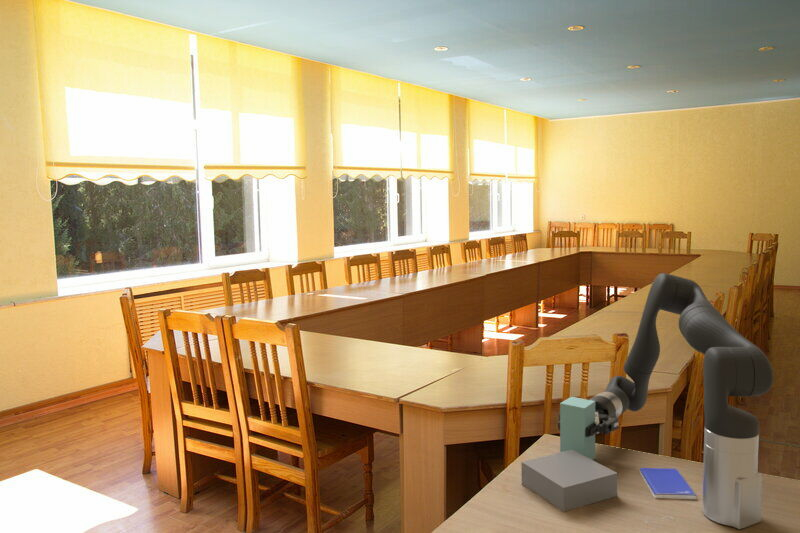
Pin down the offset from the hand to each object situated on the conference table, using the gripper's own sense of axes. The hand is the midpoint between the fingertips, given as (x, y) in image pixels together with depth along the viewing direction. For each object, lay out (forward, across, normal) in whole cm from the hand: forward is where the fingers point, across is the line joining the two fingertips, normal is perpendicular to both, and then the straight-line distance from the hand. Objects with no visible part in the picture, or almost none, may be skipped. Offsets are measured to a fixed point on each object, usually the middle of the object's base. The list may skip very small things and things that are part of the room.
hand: (573, 429), depth 147 cm
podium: (+13, +5, +8) cm, 16 cm away
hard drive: (-2, +21, +9) cm, 22 cm away
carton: (-2, 0, +8) cm, 8 cm away
